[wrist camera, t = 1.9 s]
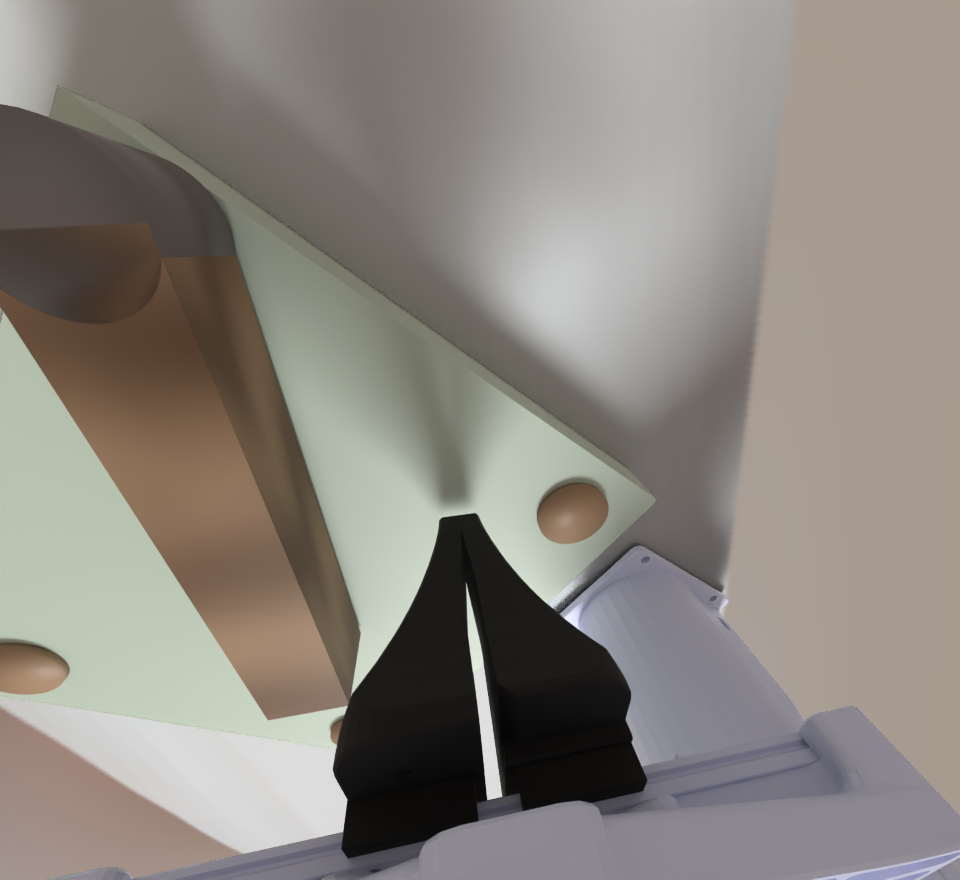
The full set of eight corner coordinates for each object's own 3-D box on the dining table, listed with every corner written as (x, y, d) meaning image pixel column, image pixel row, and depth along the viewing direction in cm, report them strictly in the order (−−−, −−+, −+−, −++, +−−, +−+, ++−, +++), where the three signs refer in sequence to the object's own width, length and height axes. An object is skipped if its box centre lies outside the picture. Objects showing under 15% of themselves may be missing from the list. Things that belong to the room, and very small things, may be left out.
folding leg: (48, 152, 8) (-139, 105, 5) (204, 148, 8) (103, 102, 6) (290, 644, 16) (265, 721, 14) (363, 632, 17) (352, 705, 14)
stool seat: (628, 469, 18) (662, 504, 15) (386, 712, 25) (383, 763, 22) (138, 121, 10) (43, 79, 7) (-19, 625, 17) (-96, 690, 14)
